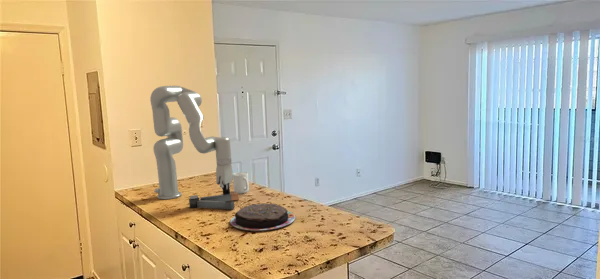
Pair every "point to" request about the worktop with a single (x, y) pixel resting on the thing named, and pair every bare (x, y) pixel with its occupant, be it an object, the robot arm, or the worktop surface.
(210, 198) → the tong arm
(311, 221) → the worktop surface
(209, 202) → the base
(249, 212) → the chocolate cake
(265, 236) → the worktop surface
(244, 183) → the cup
